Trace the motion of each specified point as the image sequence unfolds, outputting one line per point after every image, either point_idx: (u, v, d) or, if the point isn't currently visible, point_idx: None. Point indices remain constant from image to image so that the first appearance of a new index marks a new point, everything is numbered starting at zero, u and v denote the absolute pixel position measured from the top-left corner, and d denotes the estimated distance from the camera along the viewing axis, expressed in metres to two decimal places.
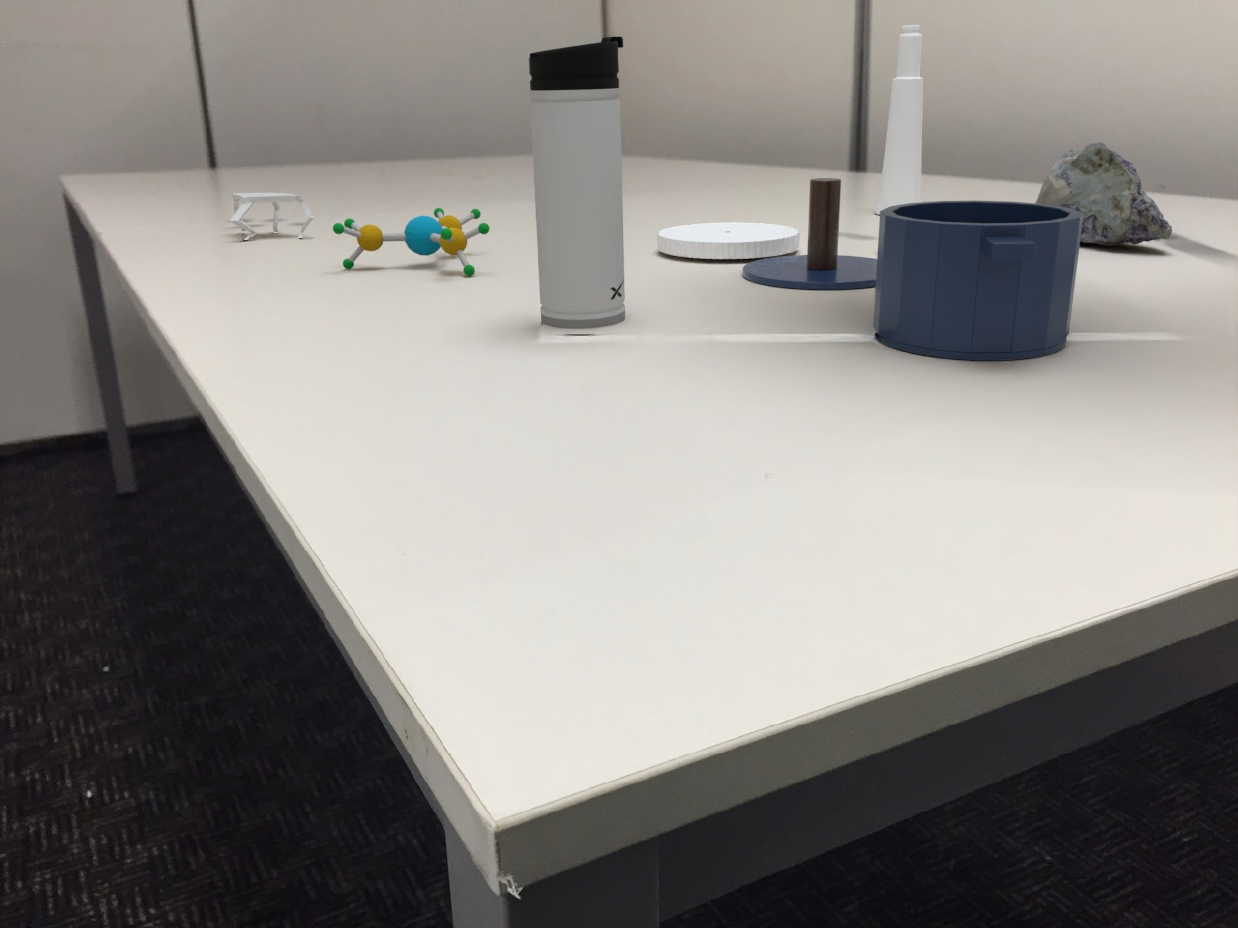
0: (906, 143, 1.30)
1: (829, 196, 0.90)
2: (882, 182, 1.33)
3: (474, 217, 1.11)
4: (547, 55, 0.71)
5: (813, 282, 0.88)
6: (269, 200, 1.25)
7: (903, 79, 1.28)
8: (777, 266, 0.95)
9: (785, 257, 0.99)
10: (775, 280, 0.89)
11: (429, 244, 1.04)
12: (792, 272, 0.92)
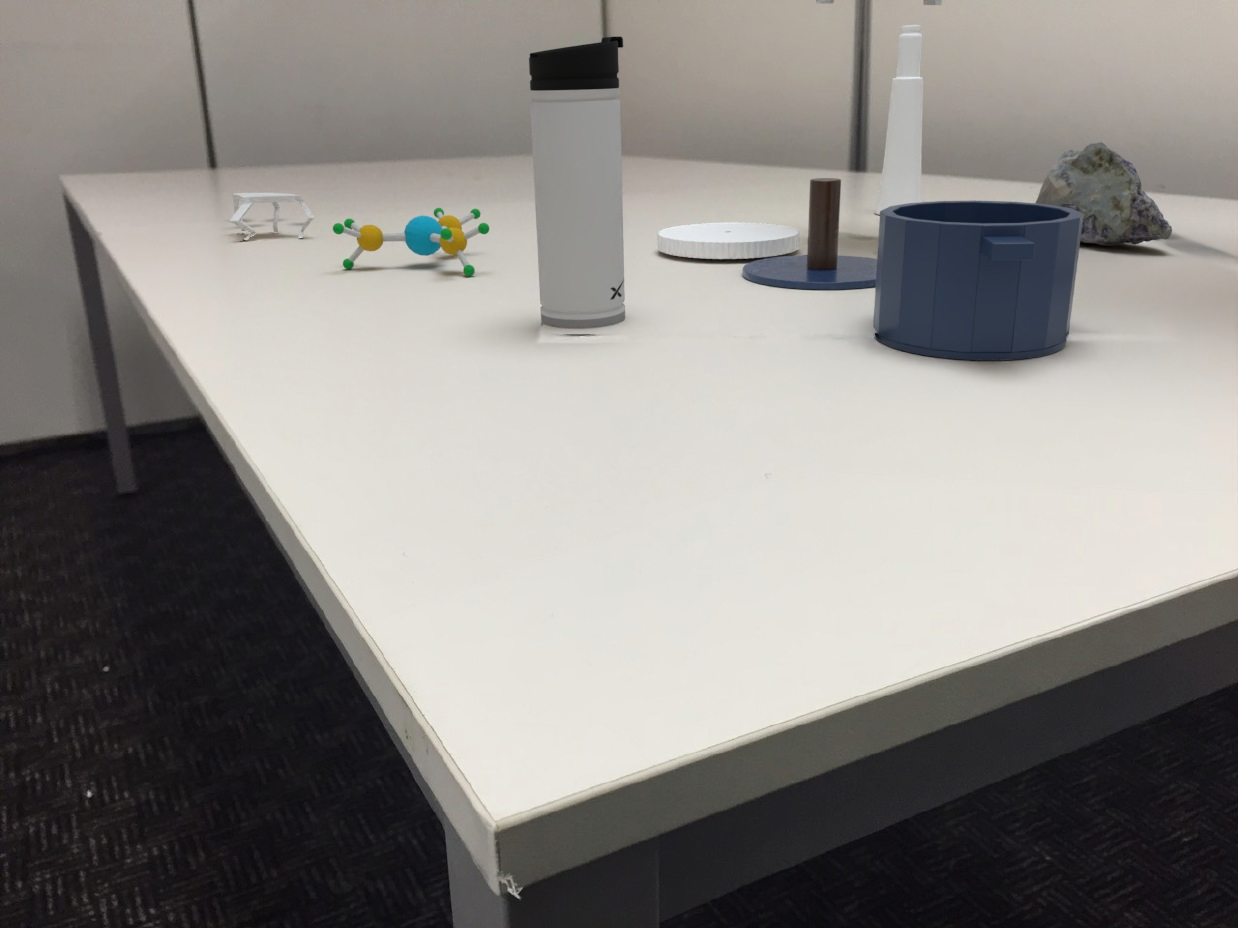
0: (906, 142, 1.30)
1: (829, 196, 0.90)
2: (882, 182, 1.33)
3: (474, 217, 1.11)
4: (547, 55, 0.71)
5: (813, 282, 0.88)
6: (269, 200, 1.25)
7: (903, 79, 1.28)
8: (777, 266, 0.95)
9: (785, 257, 0.99)
10: (775, 280, 0.89)
11: (429, 244, 1.04)
12: (792, 272, 0.92)
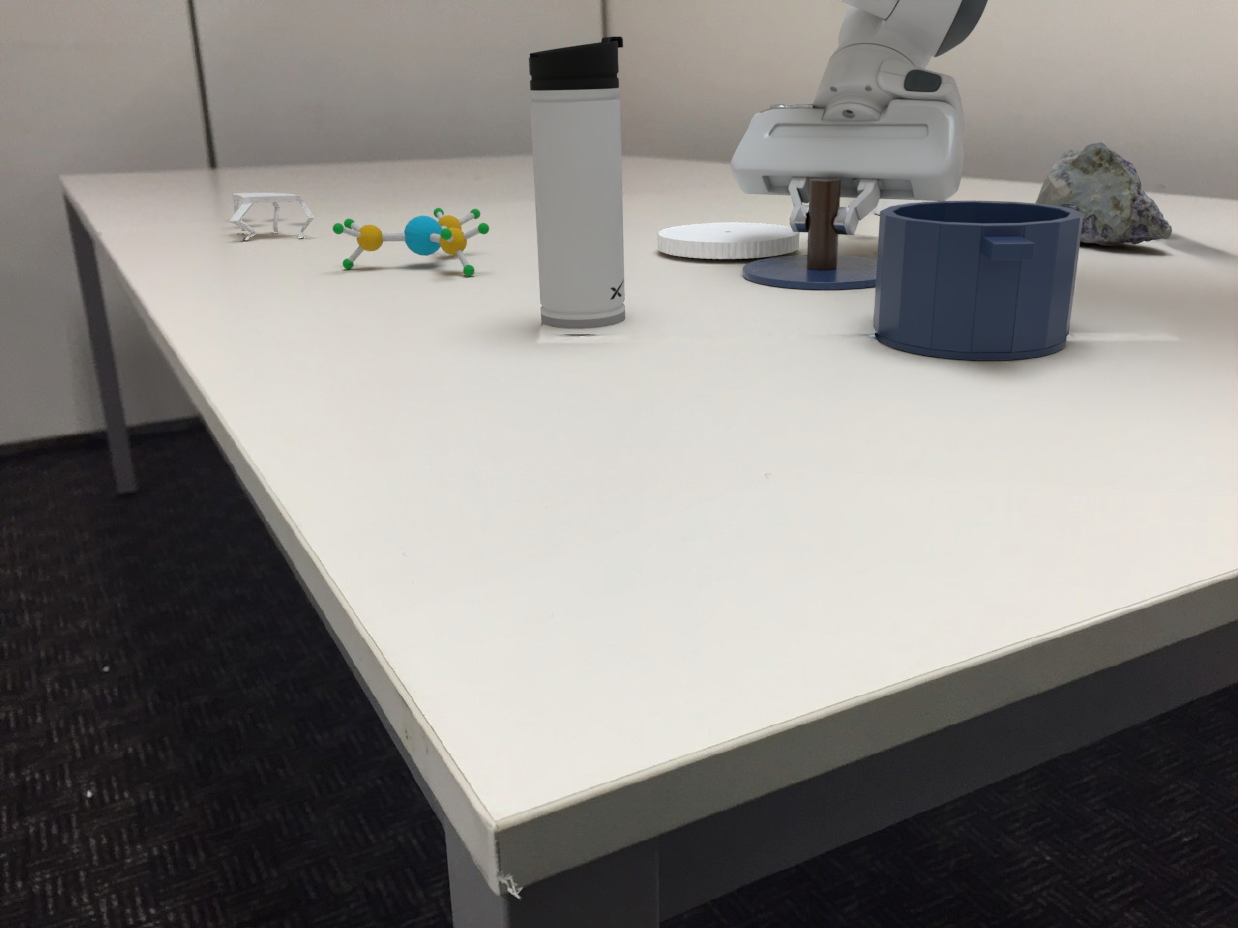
0: None
1: (829, 196, 0.90)
2: None
3: (474, 217, 1.11)
4: (547, 55, 0.71)
5: (813, 282, 0.88)
6: (269, 200, 1.25)
7: None
8: (777, 266, 0.95)
9: (785, 257, 0.99)
10: (775, 280, 0.89)
11: (429, 244, 1.04)
12: (792, 272, 0.92)
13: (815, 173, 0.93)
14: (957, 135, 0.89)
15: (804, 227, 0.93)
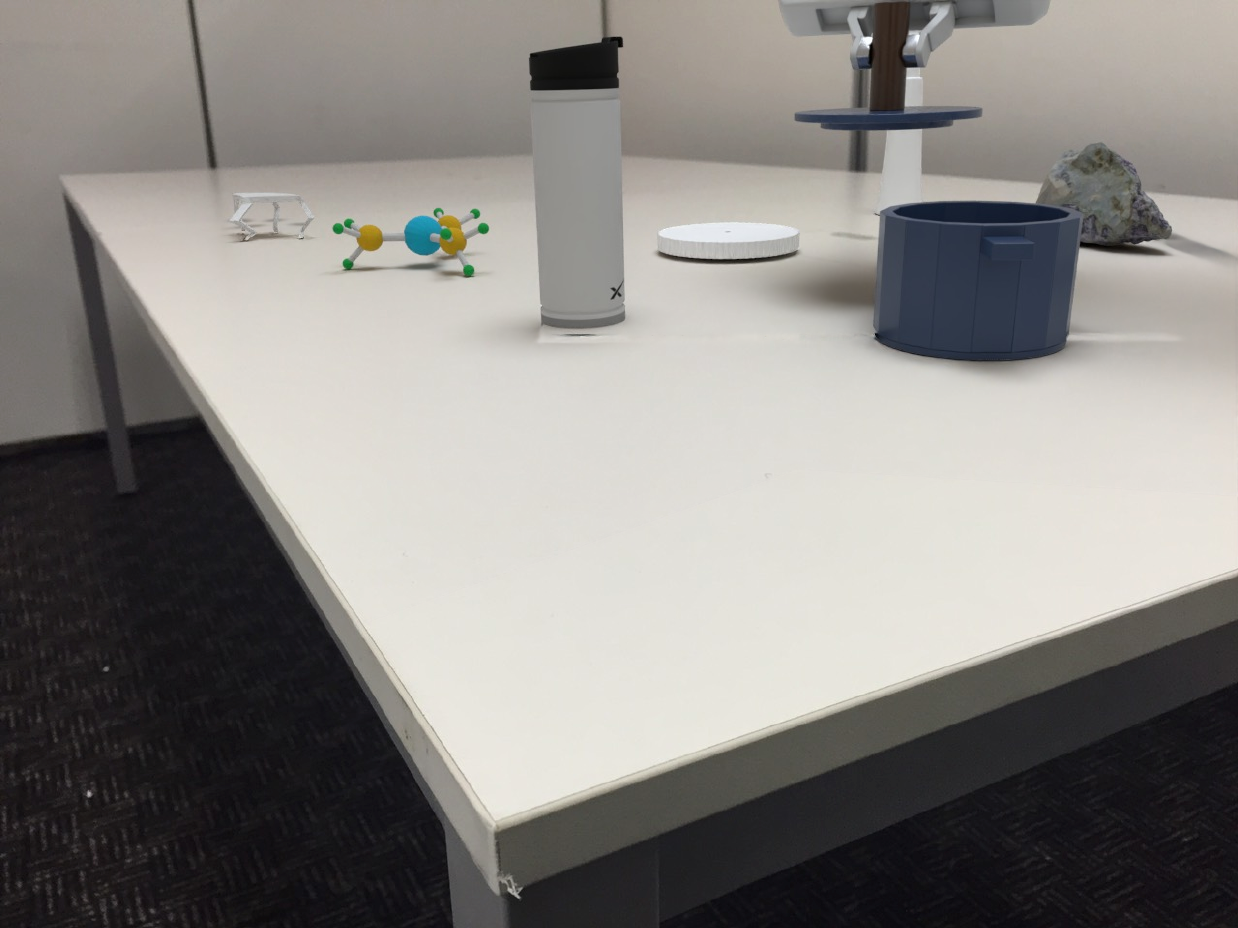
0: (906, 142, 1.30)
1: (897, 20, 0.78)
2: (882, 182, 1.33)
3: (474, 216, 1.11)
4: (547, 55, 0.71)
5: (881, 114, 0.75)
6: (269, 200, 1.25)
7: None
8: (834, 111, 0.82)
9: None
10: (836, 116, 0.76)
11: (429, 244, 1.04)
12: (854, 112, 0.79)
13: (879, 0, 0.80)
14: None
15: (867, 61, 0.80)
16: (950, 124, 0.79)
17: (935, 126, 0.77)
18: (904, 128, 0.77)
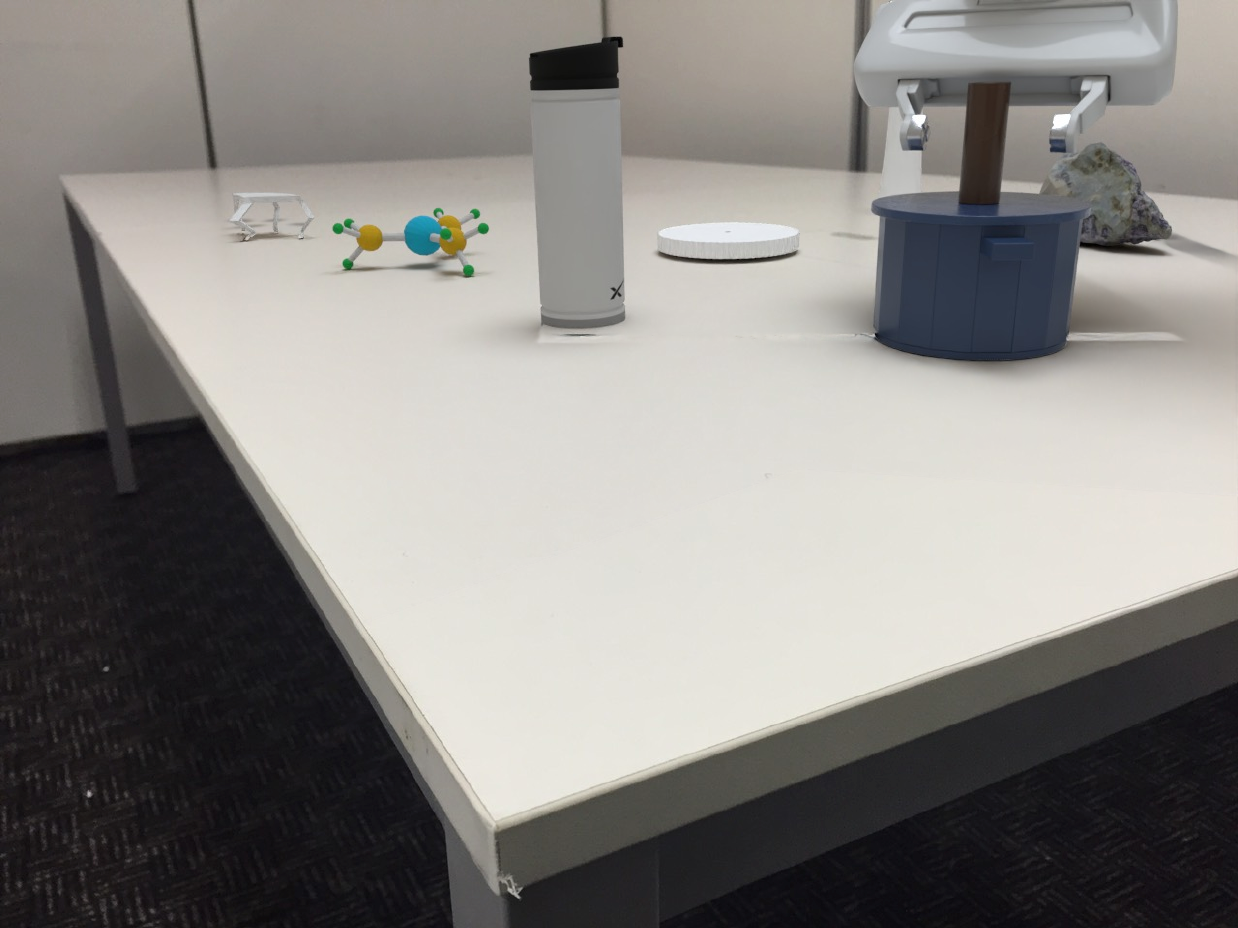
0: None
1: (996, 104, 0.67)
2: (882, 182, 1.33)
3: (474, 217, 1.11)
4: (547, 55, 0.71)
5: (982, 216, 0.65)
6: (269, 200, 1.25)
7: None
8: (917, 201, 0.72)
9: (920, 193, 0.76)
10: (927, 215, 0.66)
11: (429, 244, 1.04)
12: (943, 207, 0.69)
13: (974, 72, 0.70)
14: (1176, 13, 0.65)
15: (919, 143, 0.71)
16: None
17: None
18: None
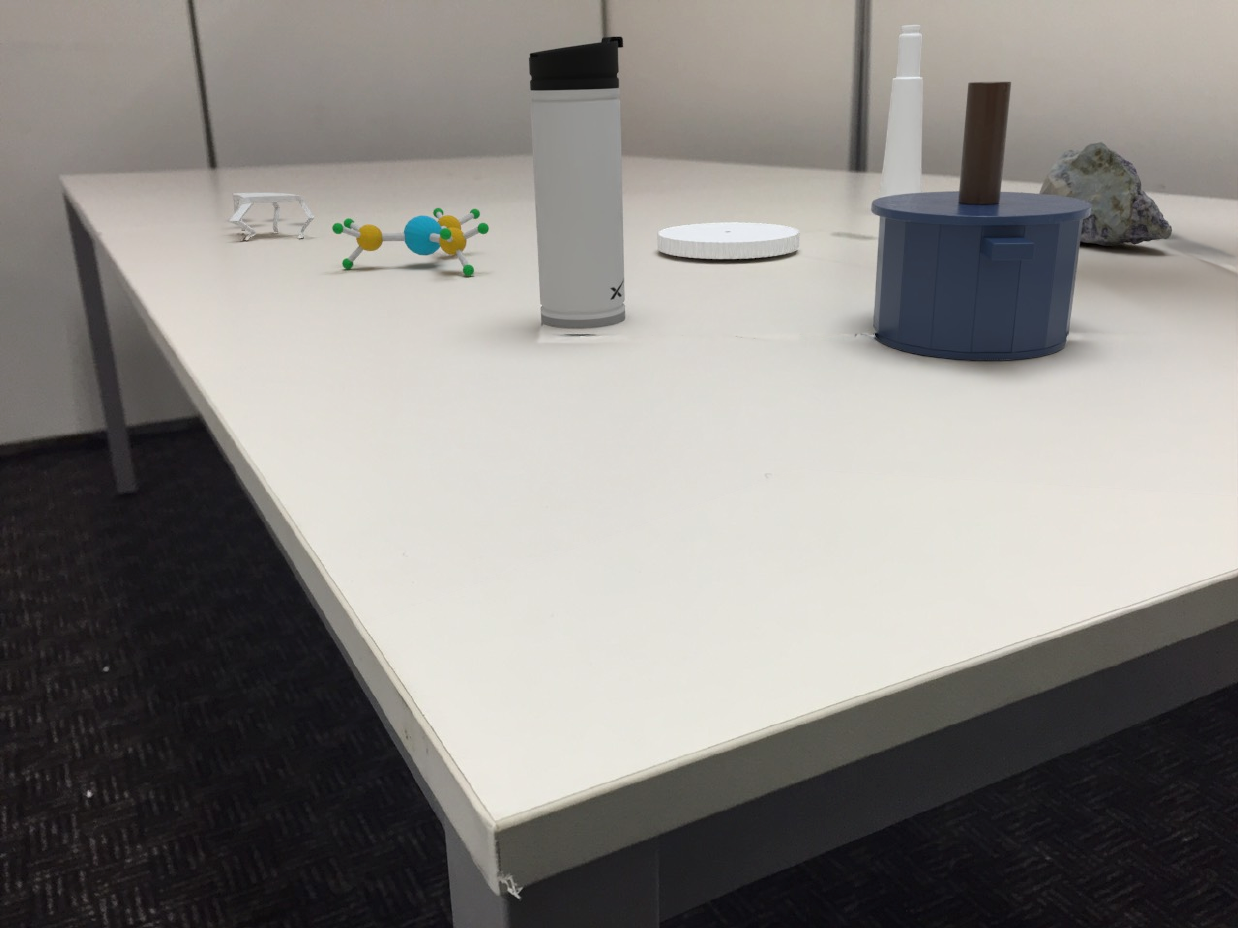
0: (906, 142, 1.30)
1: (996, 104, 0.67)
2: (882, 182, 1.33)
3: (474, 216, 1.11)
4: (547, 55, 0.71)
5: (982, 216, 0.65)
6: (269, 200, 1.25)
7: (903, 79, 1.28)
8: (917, 201, 0.72)
9: (920, 193, 0.76)
10: (927, 215, 0.66)
11: (429, 243, 1.04)
12: (943, 207, 0.69)
13: None
14: None
15: None
16: None
17: None
18: None
